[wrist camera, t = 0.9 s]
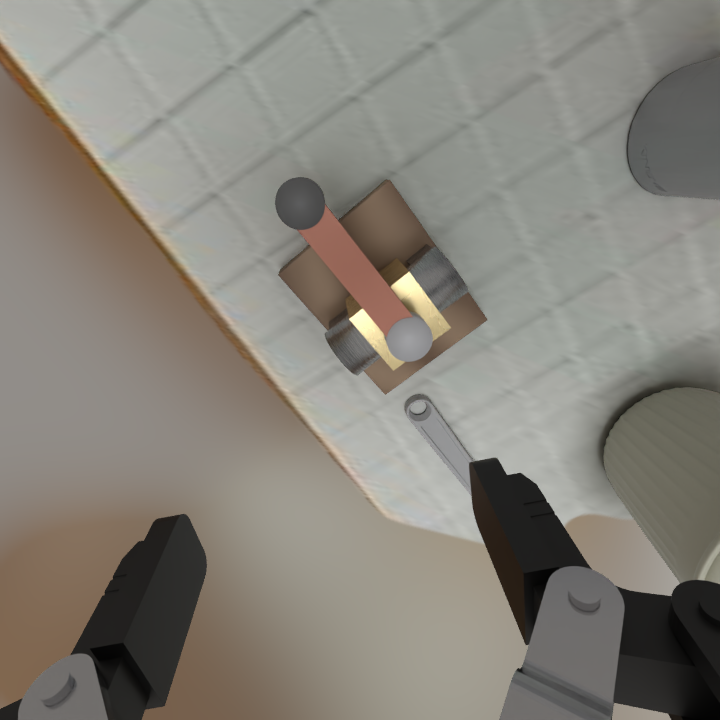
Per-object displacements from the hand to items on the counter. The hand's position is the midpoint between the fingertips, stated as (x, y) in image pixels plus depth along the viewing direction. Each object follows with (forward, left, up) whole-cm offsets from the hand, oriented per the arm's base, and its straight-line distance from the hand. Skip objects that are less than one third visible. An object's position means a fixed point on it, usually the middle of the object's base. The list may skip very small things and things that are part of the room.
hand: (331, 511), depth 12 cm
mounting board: (-4, +4, -26) cm, 27 cm away
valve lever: (-4, -1, -17) cm, 18 cm away
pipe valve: (-4, +4, -24) cm, 25 cm away
